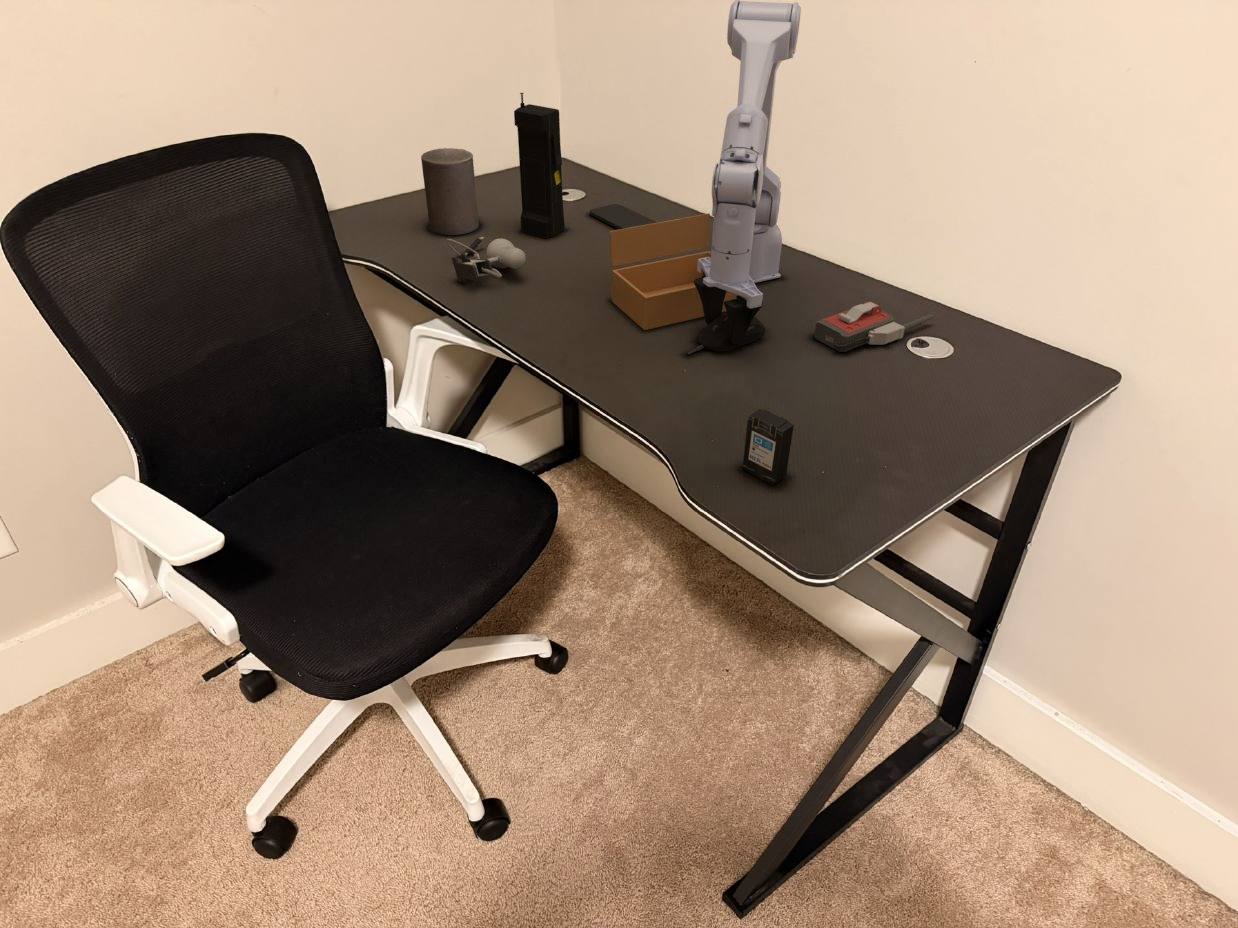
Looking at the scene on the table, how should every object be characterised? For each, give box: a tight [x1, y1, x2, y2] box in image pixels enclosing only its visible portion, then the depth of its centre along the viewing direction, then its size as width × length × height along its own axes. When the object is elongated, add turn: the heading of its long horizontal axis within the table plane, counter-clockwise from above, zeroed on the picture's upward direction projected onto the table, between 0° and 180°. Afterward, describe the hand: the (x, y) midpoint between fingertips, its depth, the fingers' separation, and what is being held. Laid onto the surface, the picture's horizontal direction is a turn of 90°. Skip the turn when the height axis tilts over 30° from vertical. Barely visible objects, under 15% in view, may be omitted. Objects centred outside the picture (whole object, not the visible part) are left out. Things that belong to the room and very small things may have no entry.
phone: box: [589, 203, 658, 230], centre depth 172 cm, size 7×1×15 cm
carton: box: [611, 250, 737, 331], centre depth 141 cm, size 18×12×6 cm, turn 117°
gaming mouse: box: [686, 311, 767, 356], centre depth 131 cm, size 6×15×4 cm, turn 128°
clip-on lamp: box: [446, 236, 527, 283], centre depth 151 cm, size 12×6×18 cm
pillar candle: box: [420, 147, 479, 236], centre depth 165 cm, size 10×10×15 cm
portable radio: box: [513, 92, 566, 239], centre depth 160 cm, size 8×6×25 cm
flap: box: [609, 213, 711, 267], centre depth 141 cm, size 18×6×1 cm
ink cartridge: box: [741, 408, 795, 486], centre depth 102 cm, size 5×2×8 cm, turn 46°
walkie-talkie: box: [813, 300, 934, 353], centre depth 133 cm, size 9×4×20 cm
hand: (724, 332), depth 131 cm, fingers closed on gaming mouse, 6 cm apart
